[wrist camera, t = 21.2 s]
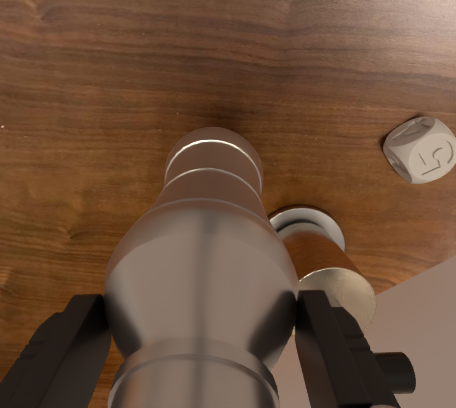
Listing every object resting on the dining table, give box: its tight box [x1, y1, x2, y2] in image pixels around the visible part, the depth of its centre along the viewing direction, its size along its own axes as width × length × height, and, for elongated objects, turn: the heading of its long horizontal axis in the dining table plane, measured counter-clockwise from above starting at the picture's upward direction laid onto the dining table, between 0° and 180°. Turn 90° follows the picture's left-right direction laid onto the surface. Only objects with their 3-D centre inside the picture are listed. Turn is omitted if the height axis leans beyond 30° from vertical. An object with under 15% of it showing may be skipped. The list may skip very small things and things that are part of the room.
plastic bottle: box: [103, 127, 299, 408], centre depth 15 cm, size 6×7×20 cm
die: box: [383, 116, 456, 184], centre depth 34 cm, size 5×5×5 cm
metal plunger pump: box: [268, 205, 416, 394], centre depth 30 cm, size 11×11×21 cm
